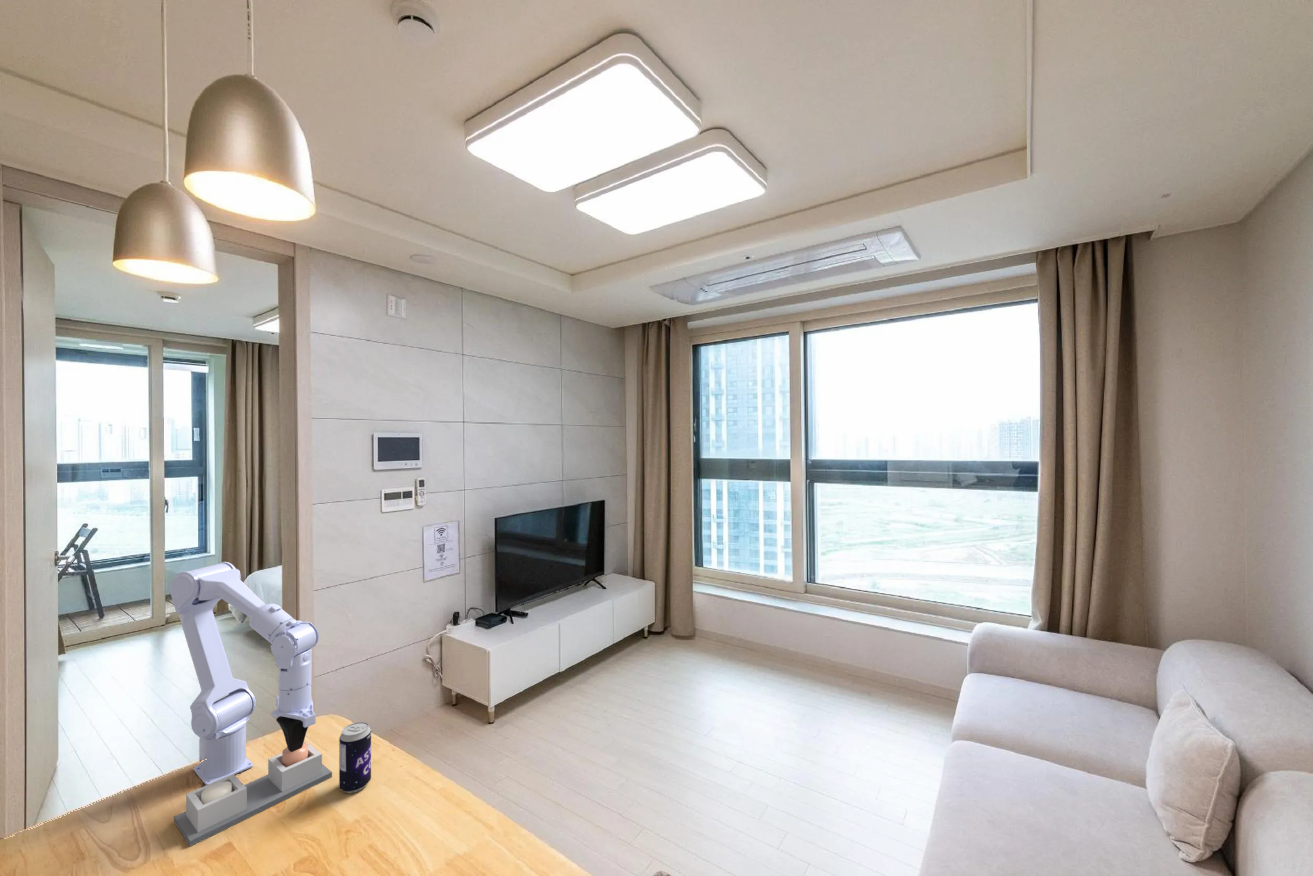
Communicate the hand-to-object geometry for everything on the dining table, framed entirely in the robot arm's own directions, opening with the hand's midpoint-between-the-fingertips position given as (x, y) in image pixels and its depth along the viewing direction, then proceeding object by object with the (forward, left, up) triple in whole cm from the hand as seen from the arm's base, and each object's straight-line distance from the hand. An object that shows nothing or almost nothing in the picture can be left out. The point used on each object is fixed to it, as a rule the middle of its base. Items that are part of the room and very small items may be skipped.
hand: (295, 749), depth 109 cm
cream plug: (0, -13, -5) cm, 14 cm away
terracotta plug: (0, 0, -4) cm, 4 cm away
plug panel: (0, -7, -7) cm, 9 cm away
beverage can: (+12, +6, -7) cm, 15 cm away
